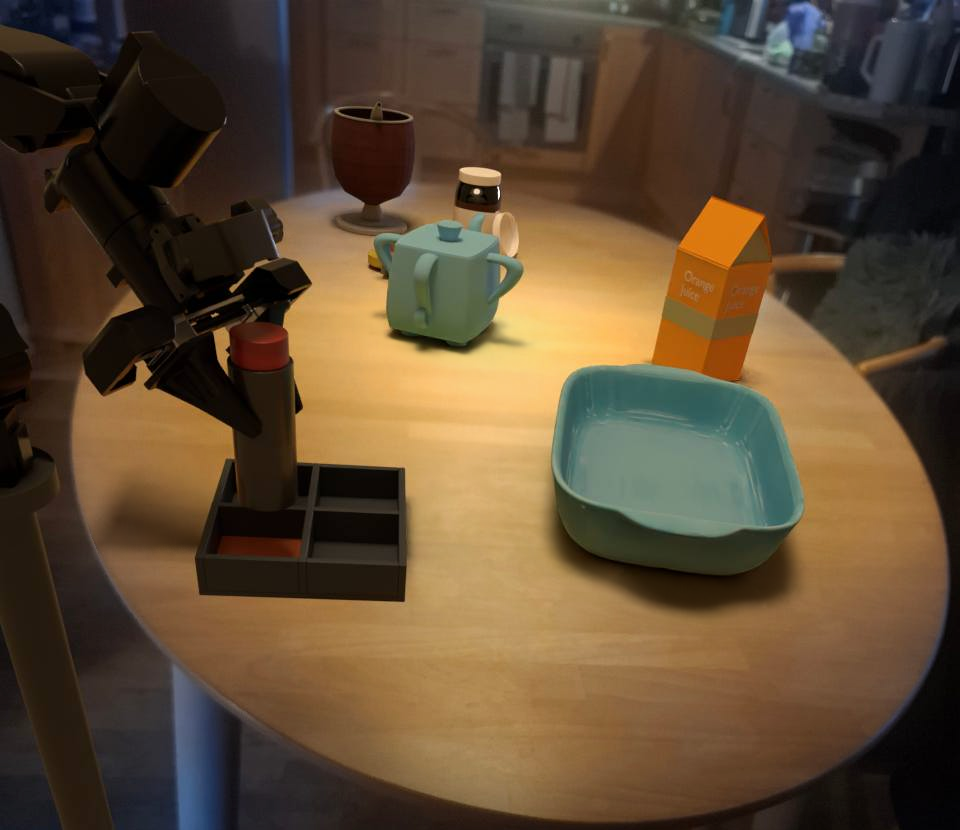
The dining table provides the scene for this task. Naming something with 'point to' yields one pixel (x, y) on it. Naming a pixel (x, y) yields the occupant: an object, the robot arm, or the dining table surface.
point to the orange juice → (715, 292)
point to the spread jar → (485, 206)
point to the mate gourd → (372, 163)
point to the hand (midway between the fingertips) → (278, 423)
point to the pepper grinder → (265, 416)
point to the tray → (310, 538)
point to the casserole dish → (672, 469)
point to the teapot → (445, 279)
